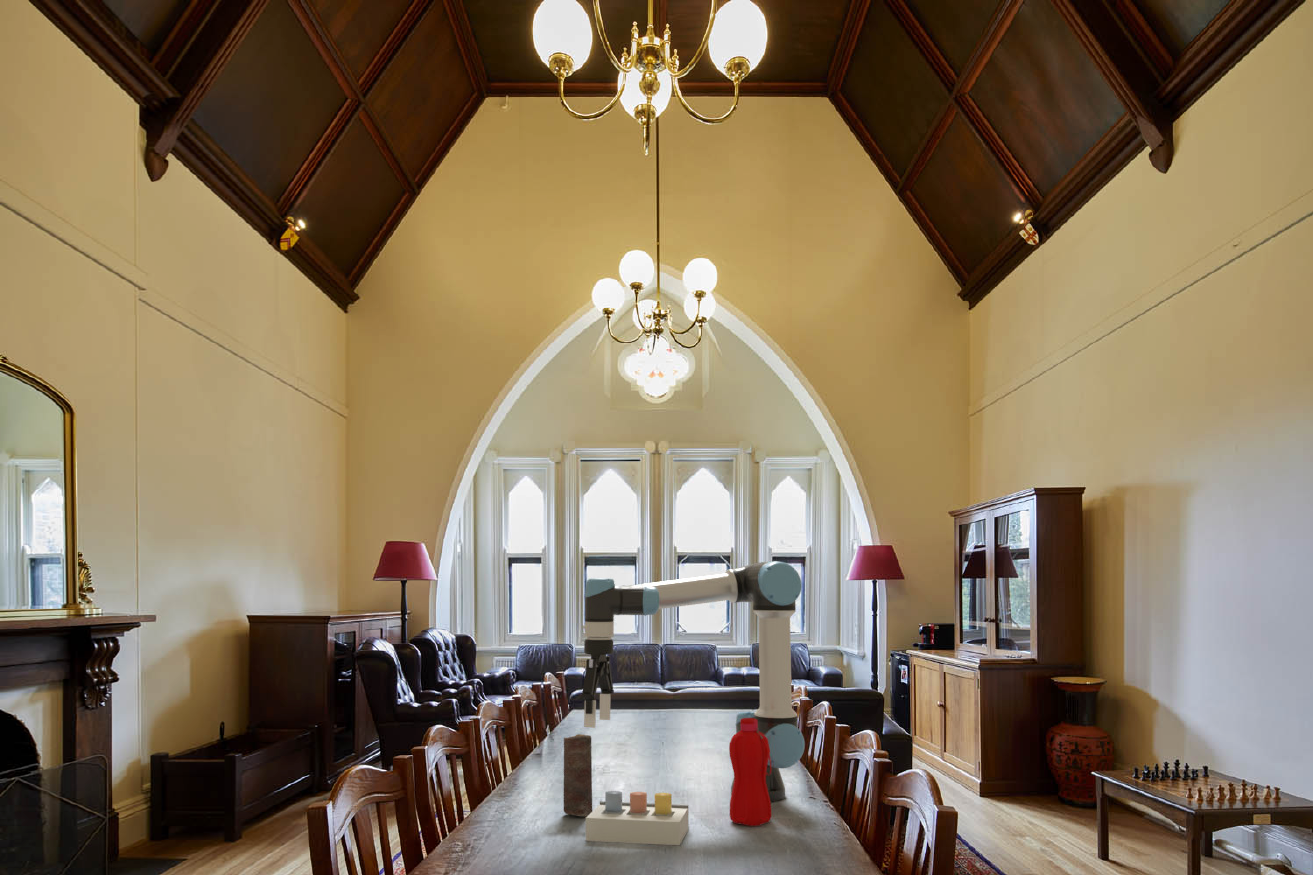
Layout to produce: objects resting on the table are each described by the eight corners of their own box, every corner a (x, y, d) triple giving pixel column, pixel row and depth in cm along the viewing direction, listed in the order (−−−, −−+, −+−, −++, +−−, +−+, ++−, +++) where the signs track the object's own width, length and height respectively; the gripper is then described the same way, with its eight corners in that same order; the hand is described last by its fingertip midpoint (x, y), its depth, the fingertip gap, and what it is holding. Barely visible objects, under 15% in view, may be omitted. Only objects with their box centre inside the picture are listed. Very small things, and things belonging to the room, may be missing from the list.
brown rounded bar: (567, 820, 230) (568, 737, 233) (558, 813, 236) (560, 733, 240) (596, 817, 233) (597, 735, 236) (586, 810, 240) (587, 731, 243)
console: (688, 829, 222) (688, 804, 222) (679, 845, 208) (679, 819, 209) (600, 824, 225) (600, 801, 226) (585, 840, 212) (585, 814, 213)
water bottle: (761, 830, 221) (759, 722, 225) (724, 822, 228) (723, 718, 232) (782, 822, 228) (780, 718, 232) (746, 815, 235) (744, 714, 239)
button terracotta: (648, 809, 219) (648, 791, 220) (644, 813, 215) (644, 795, 216) (631, 808, 220) (631, 791, 220) (628, 812, 216) (628, 795, 217)
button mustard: (672, 810, 218) (672, 792, 219) (670, 814, 214) (669, 796, 215) (656, 809, 219) (656, 792, 219) (653, 813, 215) (653, 796, 216)
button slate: (623, 808, 220) (623, 791, 221) (620, 812, 216) (620, 794, 217) (607, 807, 221) (607, 790, 222) (603, 811, 217) (603, 794, 218)
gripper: (598, 635, 250) (597, 716, 247) (570, 640, 226) (568, 729, 223) (625, 636, 249) (624, 717, 245) (599, 641, 225) (597, 731, 221)
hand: (597, 723), depth 234 cm, fingers open, 13 cm apart
